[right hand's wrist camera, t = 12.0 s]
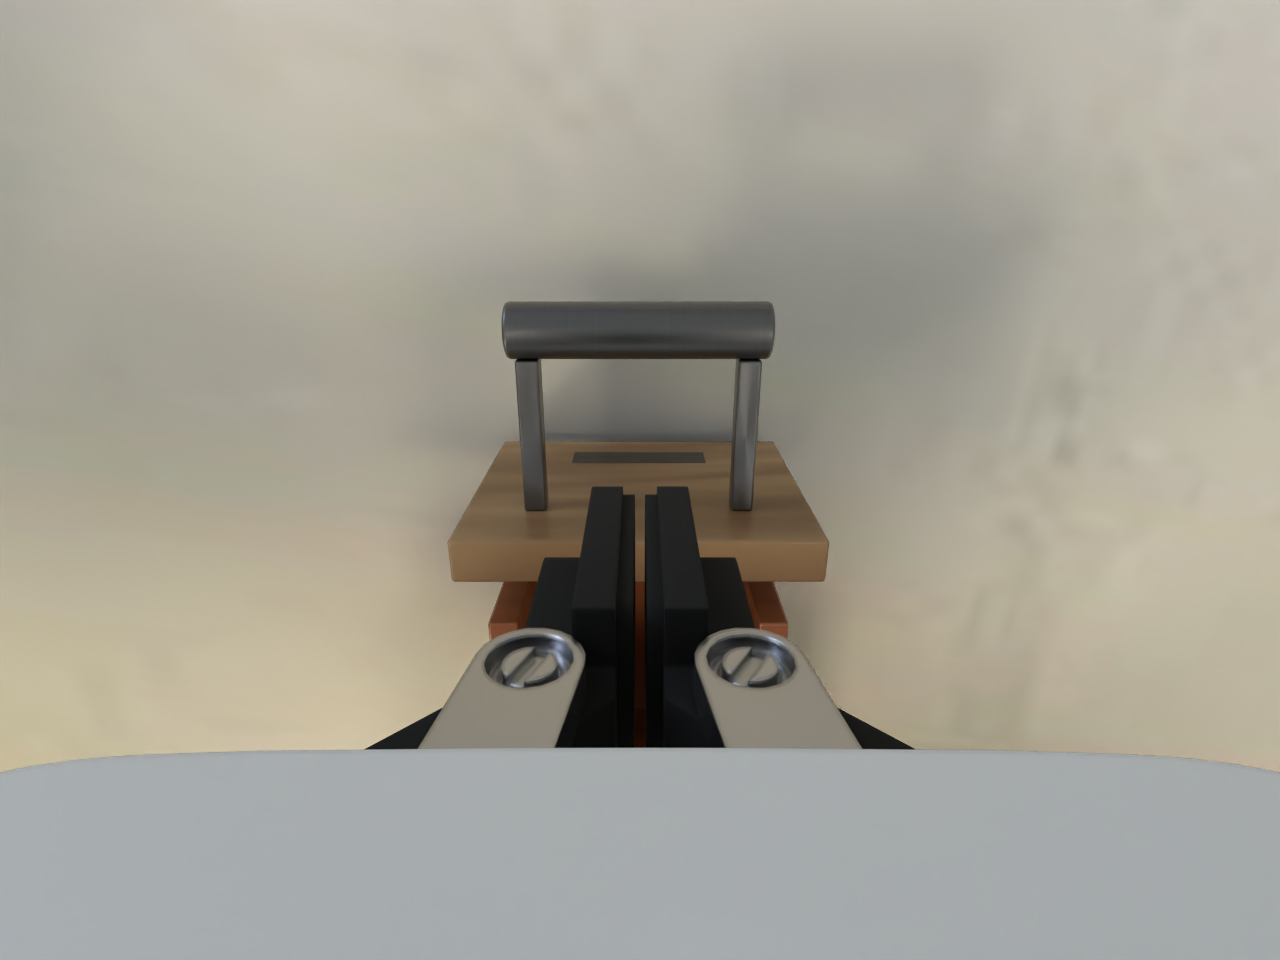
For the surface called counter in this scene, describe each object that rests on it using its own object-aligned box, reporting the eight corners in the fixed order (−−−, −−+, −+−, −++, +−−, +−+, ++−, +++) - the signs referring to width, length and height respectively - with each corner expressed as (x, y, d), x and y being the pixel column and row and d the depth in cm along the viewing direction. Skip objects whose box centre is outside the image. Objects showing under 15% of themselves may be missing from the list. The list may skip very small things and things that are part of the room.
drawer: (491, 278, 23) (420, 314, 15) (785, 278, 23) (855, 314, 15) (524, 704, 29) (484, 875, 22) (753, 704, 29) (792, 875, 22)
